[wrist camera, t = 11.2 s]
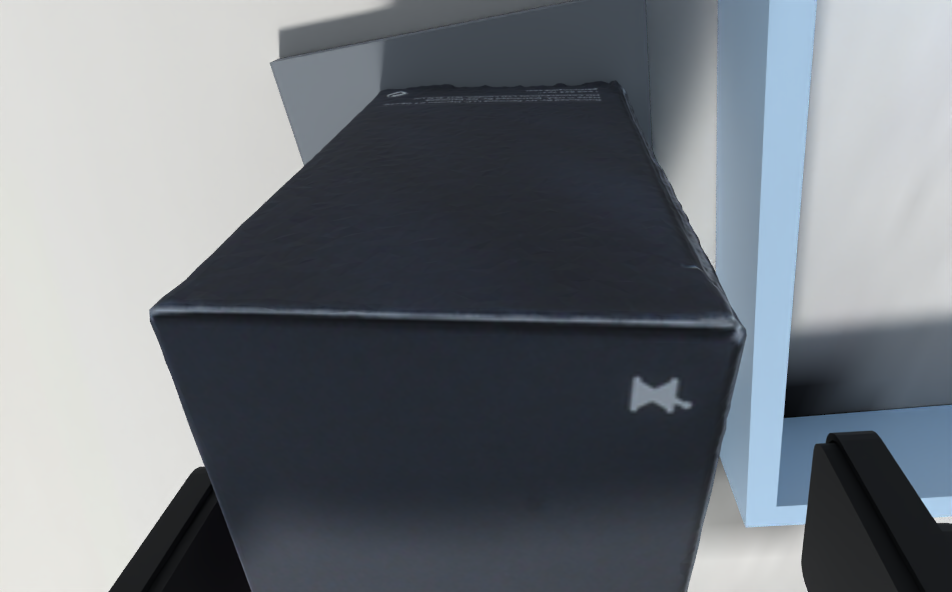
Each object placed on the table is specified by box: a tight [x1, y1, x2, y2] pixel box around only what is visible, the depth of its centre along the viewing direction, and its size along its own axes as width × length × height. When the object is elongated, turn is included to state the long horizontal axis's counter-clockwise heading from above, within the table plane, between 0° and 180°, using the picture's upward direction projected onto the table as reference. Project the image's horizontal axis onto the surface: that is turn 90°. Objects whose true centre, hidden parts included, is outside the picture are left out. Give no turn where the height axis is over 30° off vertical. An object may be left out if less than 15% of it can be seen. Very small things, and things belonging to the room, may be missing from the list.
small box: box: [150, 80, 747, 592], centre depth 13 cm, size 11×6×10 cm, turn 2°
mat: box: [270, 0, 652, 166], centre depth 18 cm, size 9×13×1 cm
